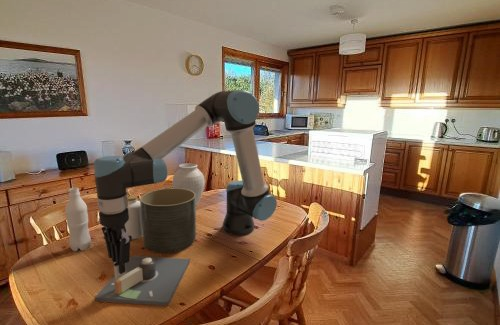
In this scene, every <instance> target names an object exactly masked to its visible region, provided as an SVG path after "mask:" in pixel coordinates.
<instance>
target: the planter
mask: <svg viewBox="0 0 500 325" xmlns="http://www.w3.org/2000/svg"><path fill="white" fill-rule="evenodd" d="M139 201H140V207H141V219H142V229H143V236H142V238H143V245H144V248H145V249H146V250H148V251H149V252H151V253H152V252H153V253H155V254H172V253H176V252H180V251H184V250H186V249H187V248H189V247H190V246H192V245H193V244H194V242H196V238H197V237H196V236H197V235H196V229H197V228H196V226H197V223H196V222H197V221H196V220H197V206H196V194H195V193H194V192H193V191H191V190H187V189H181V188H173V187H171V188H170V187H168V188H160V189H156V190H150V191H148V192H146V193H144V194H142V195H140V198H139Z"/></svg>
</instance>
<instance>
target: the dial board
mask: <svg viewBox="0 0 500 325" xmlns="http://www.w3.org/2000/svg"><path fill="white" fill-rule="evenodd" d="M145 258H152V259H154V260H155V268H156V275H155V276H154V277H153V278H152V279H149V280H142V281H140V282H138V283H137V284H135V285H134V286H132V287H130V288H129V289H127V290H125V291H124V292H122V293H121V294H117V293H116V292H115V284H114V280H115V275H113V277H111V279H110V280H109V281H108V282H107V283H106V284H105V285H104V286H103V287H102V289H101V290H100V291H99V292H98V293H97V294H96V295H95V297H94V301H95V302H105V303H107V302H108V303H120V304H121V303H123V304H133V305H134V304H135V305H149V306H163V305H164V306H166V307H168V306H169V305H170V303H171V301H172V299H173V297H174V295H175V293H176V291H177V289H178V288H179V285H180V283H181V281H182V279H183V277H184V274H185V273H186V271H187V269H188V267H189V265H190V263H191V259H190V258H177V257H175V258H174V257H163V256H162V257H161V256H144V255H143V256H141V255H132V256H131V257H130V258H129V262H127V263H125V268H126V274H127V273H128V272H130V271H132V270H134V269H136V268H137V267H139V262H140V261H141V260H143V259H145ZM164 306H163V307H164Z"/></svg>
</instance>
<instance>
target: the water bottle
mask: <svg viewBox="0 0 500 325" xmlns="http://www.w3.org/2000/svg"><path fill="white" fill-rule="evenodd" d="M68 191H69V194H68V196H69V200H68V201H67V203H66V206H65V209H64V210H65V211H64V212H65V217H66V225H67V228H68V232H69V242H68V244H69V247H70V249H71V250H72V251H73V252H78V251H79V250H80V251H86V250H87V248H89V247H90V246H91V244H92V242H91V241H92V239H91V234H90V231H89V215H88V206H87V204H86V202H85V201H84V200H83V198H81V193H80V188H79V187H71V188H69V190H68Z"/></svg>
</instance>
